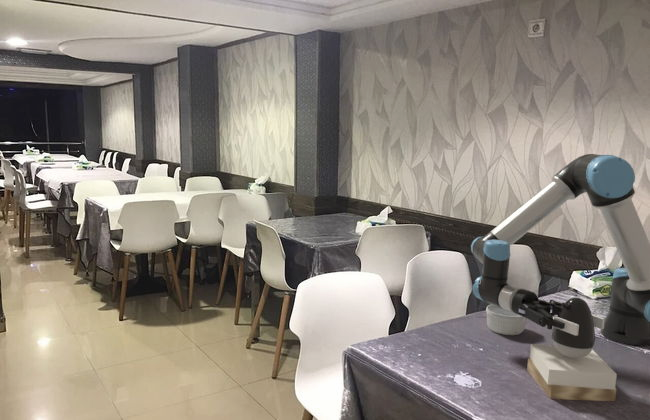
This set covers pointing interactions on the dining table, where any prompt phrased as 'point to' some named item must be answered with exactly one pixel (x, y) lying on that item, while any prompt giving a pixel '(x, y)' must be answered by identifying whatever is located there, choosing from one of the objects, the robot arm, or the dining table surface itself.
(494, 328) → the ramekin
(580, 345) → the pump dispenser
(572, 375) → the tower top
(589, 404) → the dining table surface
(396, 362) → the dining table surface
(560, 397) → the tower base
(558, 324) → the robot arm
